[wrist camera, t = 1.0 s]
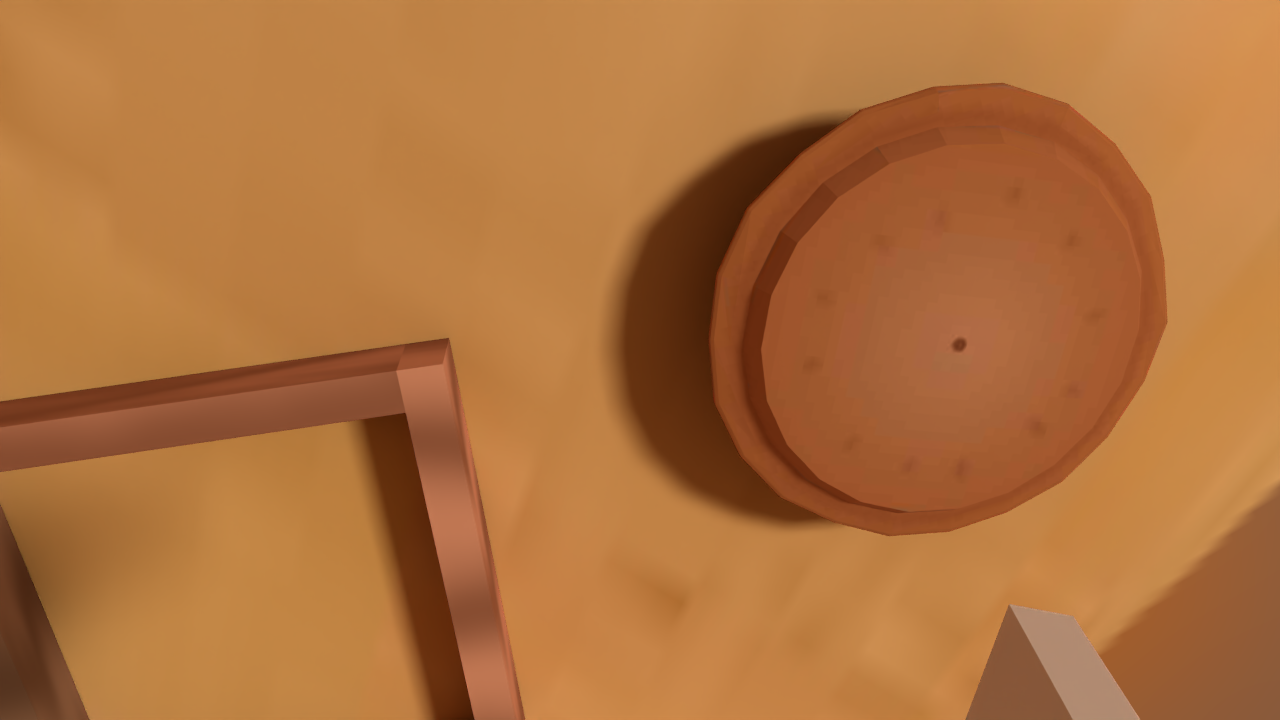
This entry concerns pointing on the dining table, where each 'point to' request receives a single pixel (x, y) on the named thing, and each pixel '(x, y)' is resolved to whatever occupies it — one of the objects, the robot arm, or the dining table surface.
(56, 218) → the dining table surface
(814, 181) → the pie
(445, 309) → the dining table surface
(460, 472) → the rail frame
